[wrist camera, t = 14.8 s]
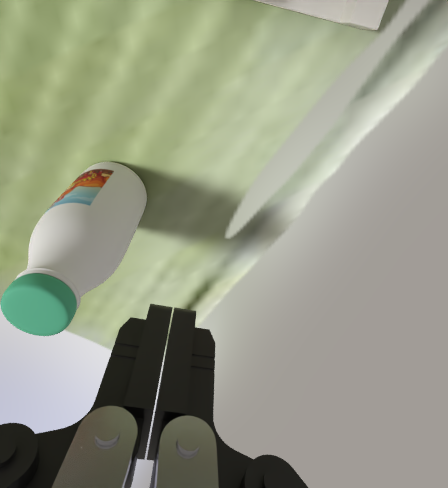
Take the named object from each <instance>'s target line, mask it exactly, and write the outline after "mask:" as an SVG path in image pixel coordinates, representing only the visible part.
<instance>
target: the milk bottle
mask: <svg viewBox="0 0 448 488" xmlns="http://www.w3.org/2000/svg"><path fill="white" fill-rule="evenodd" d="M146 203H147V193H146V189H145V186H144V184H143V182H142V181H141V179H140V178H139V177H138V175H137V174H136V173H134V172H133V171H132V170H131V169H129V168H128V167H126V166H124V165H121V164H119V163H114V162H100V163H96V164H94V165H92V166H90V167H89V168H87V169H86V170H85V171H84V172H83V173H82V174H81V175H80V176H79V177H78V178H77V179H76V180H75V181H74V182H73V183H72V184H71V185H70V186H69V187H68V188H67V189H66V191H65V192H64V193H63V194H62V195H61V196H60V197H59V198H58V199H57V200H56V201H55V202H54V203H53V204H52V206H51V207H50V208H49V209H48V210H47V211H46V213H45V214H44V215H43V216H42V217H41V219H40V220H39V222H38V223H37V225H36V227H35V228H34V231H33V233H32V236H31V239H30V244H29V261H28V266H27V270H25V271H23V272H21V273H20V274H19V275H18V276H17V277H16V279H15V280H14V281H13V282H12V283H11V285H10V286H9V287H8V288H7V290H6V291H5V292H4V294H3V296H2V299H1V309H2V312H3V314H4V316H5V317H6V319H7V320H8V321H9V322H10V323H11V324H13V325H14V326H15V327H17V328H18V329H20V330H22V331H24V332H26V333H29V334H33V335H39V336H49V335H55V334H58V333H60V332H61V331H63V330H64V329H65V328H66V327H67V326H68V325H69V324H70V322H71V320H72V319H73V317H74V315H75V312H76V310H77V309H78V307H79V305H80V297H81V296H83V295H84V294H85V293H86V292H88V291H90V290H92V289H94V288H95V287H97V286H99V285H100V284H102V283H103V282H104V281H106V280H107V279H108V278H109V277H110V276H111V275H112V274H113V273H114V271H115V270H116V269H117V267H118V266H119V264H120V263H121V261H122V259H123V257H124V255H125V253H126V251H127V249H128V246H129V244H130V242H131V240H132V238H133V235H134V233H135V231H136V229H137V226H138V224H139V222H140V219H141V217H142V215H143V212H144V210H145V207H146Z"/></svg>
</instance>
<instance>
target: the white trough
mask: <svg viewBox="0 0 448 488" xmlns="http://www.w3.org/2000/svg"><path fill="white" fill-rule="evenodd" d="M253 1H257V2H261V3H265V4H268V5H272V6H276V7H280V8H283V9H287V10H291V11H295V12H299V13H302V14H306V15H310V16H314V17H317V18H321V19H325V20H329V21H332V22H336V23H340V24H344V25H347V26H351V27H355V28H359V29H364V30H378V27H379V25H380V22H381V19H382V17H383V14H384V12H385V9H386V6H387V4H388V1H389V0H253Z"/></svg>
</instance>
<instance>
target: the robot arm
mask: <svg viewBox="0 0 448 488" xmlns="http://www.w3.org/2000/svg"><path fill="white" fill-rule="evenodd" d="M171 313H172V307H167V306H161V305H155V304H150V307H149V311H148V315H147V318H146V320H144V319H138V318H130V319H129V320H128V321H127V322H126V323H125V324H124V325H123V326H122V327H121V328H120V330H119V333H118V335H117V338H116V341H115V345H114V347H113V350H112V353H111V357H110V359H109V362H108V365H107V368H106V370H105V373H104V376H103V379H102V382H101V385H100V388H99V391H98V394H97V397H96V400H95V402H94V405H93V407H92V408H91V410H90V411H89V412H88V413H87V415H85V416H84V417H83V418H82V419H81V420H80V421H78V422H77V423H75V424H73V425H71V426H68V427H66V428H63V429H58V430H53V431H48V432H43V433H38V434H35V433H34V432H33V431H32V430H31V429H30V428H29V427H27V426H26V425H23V424H19V423H8V424H2V425H0V488H130V487H131V484H132V481H133V476H134V471H135V466H136V461H137V459H144V458H145V453H146V448H147V442H148V437H149V432H150V426H151V421H152V415H153V410H154V405H155V400H156V394H157V389H158V383H159V378H160V372H161V367H162V362H163V356H164V351H165V345H166V340H167V334H168V329H169V324H170V318H171ZM195 319H196V311H192V310H186V309H180V308H174V312H173V318H172V323H171V328H170V333H169V339H168V344H167V349H166V355H165V360H164V366H163V372H162V377H161V383H160V389H159V394H158V400H157V405H156V411H155V416H154V422H153V428H152V433H151V439H150V444H149V450H148V456H147V460H154V464H153V471H152V478H151V483H150V487H149V488H308V487H307V486H306V484H305V483H304V482H303V480H302V479H301V478H300V477H299V475H298V474H297V473H296V472H295V470H294V469H293V468H292V467H291V466H290V465H289V464H288V463H287V462H286V461H284V460H283V459H281V458H279V457H277V456H273V455H262V456H259V457H257V458H255V459H251V458H250V457H248V456H245V455H243V454H241V453H239V452H237V451H235V450H234V449H232V448H230V447H229V446H228V445H226V444H225V443H224V442H223V441H222V439H221V438H220V437H219V435H218V433H217V432H216V429H215V426H214V422H213V400H214V368H215V367H214V366H215V360H214V358H215V341H214V339H213V337H212V335H211V332H210V330H208V329H201V328H195Z"/></svg>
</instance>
